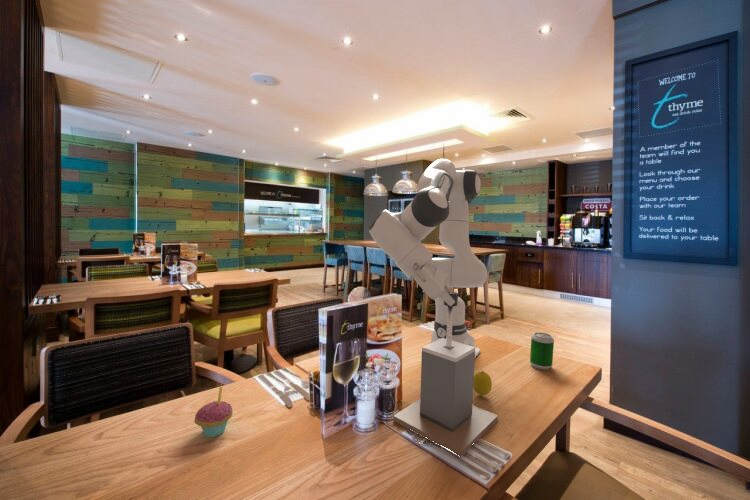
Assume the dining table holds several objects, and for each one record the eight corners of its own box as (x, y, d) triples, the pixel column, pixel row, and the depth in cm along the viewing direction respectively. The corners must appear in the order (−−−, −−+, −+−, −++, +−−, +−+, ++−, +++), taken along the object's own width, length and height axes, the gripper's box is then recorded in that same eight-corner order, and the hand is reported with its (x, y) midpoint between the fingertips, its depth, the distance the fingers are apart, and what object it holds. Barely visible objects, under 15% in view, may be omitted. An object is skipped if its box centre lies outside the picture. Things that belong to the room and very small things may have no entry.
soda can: (556, 371, 123) (558, 338, 122) (535, 370, 123) (537, 338, 122) (545, 362, 131) (548, 331, 129) (526, 361, 131) (528, 331, 130)
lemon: (492, 402, 102) (493, 376, 101) (472, 399, 103) (474, 374, 102) (489, 392, 107) (491, 368, 106) (471, 390, 108) (472, 366, 107)
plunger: (442, 373, 96) (445, 288, 94) (467, 382, 91) (471, 293, 88) (427, 382, 90) (430, 292, 88) (452, 392, 85) (456, 298, 83)
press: (434, 393, 106) (437, 329, 104) (497, 420, 92) (501, 347, 90) (393, 421, 91) (395, 346, 89) (460, 457, 78) (464, 371, 76)
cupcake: (225, 417, 91) (224, 374, 90) (238, 432, 85) (237, 386, 84) (190, 431, 85) (188, 385, 84) (202, 447, 79) (200, 398, 78)
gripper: (421, 258, 79) (463, 303, 78) (428, 250, 99) (461, 285, 97) (401, 276, 80) (442, 320, 79) (412, 265, 100) (445, 300, 99)
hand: (453, 301), depth 88 cm, fingers closed on plunger, 4 cm apart
